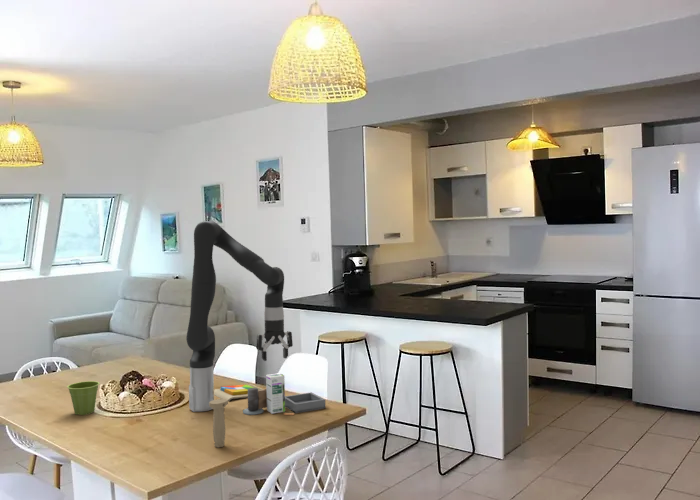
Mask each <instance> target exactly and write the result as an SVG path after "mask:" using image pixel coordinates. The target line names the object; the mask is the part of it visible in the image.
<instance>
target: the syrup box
mask: <svg viewBox="0 0 700 500" xmlns="http://www.w3.org/2000/svg"><path fill="white" fill-rule="evenodd" d="M285 381H286V380H285V374H282V373H280V372H277V373H271V374H266V375H265V382H266V383H265V384H266V387H265V389H266V392H267V408H266V410H267V412H269V413H270V414H271V415H273V414H279V413H286V407H285V396H286V392H285V391H286V388H285V387H286V386H285V384H286V383H285Z"/></svg>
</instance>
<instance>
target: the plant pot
mask: <svg viewBox="0 0 700 500" xmlns="http://www.w3.org/2000/svg"><path fill="white" fill-rule="evenodd" d="M100 384H101V383H100V382H99V381H96V380H95V381H94V380H87V381H79V382H75V383H70V384H69V385H66V388H67V389H68V392H69V394H70V398H71V402H72V403H71V404H72V406H73V412H74V414H75V415H80V416H85V415H90V414H92V413H94V412H95V409H96V401H97V394H98V390H99V389H98V388H99V385H100Z"/></svg>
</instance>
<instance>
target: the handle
mask: <svg viewBox="0 0 700 500" xmlns="http://www.w3.org/2000/svg"><path fill="white" fill-rule="evenodd" d="M227 405H229V401H228V400H227V399H221V398H218V399H217V398H216V399H214V400H213V401H210V402H209V406H210V407H211V408H213V409H212V410H213V418H212V419H213V420H212V421H213V425H212V427H213V428H212V436H213V442H214V443H213V445H214V448H223V447H224V446H225V441H226V422H225V407H226V406H227Z"/></svg>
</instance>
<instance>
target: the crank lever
mask: <svg viewBox="0 0 700 500" xmlns="http://www.w3.org/2000/svg"><path fill="white" fill-rule="evenodd" d="M262 389H263V390H258V388H249V389H248V397H247V408H248V410H249V411H256V410H258V409H261V408H262V409H265V408H266V409H267V392H266V388H262Z"/></svg>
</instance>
